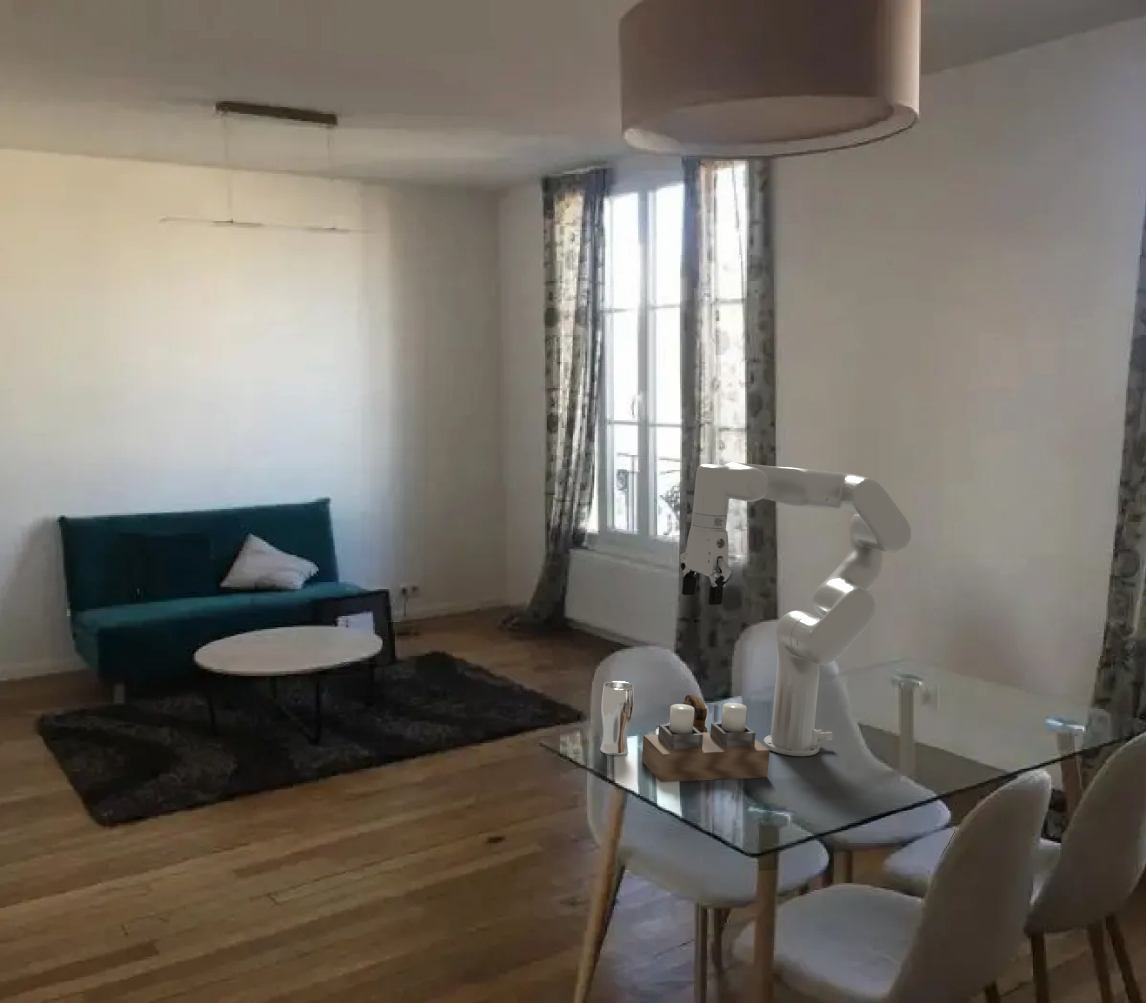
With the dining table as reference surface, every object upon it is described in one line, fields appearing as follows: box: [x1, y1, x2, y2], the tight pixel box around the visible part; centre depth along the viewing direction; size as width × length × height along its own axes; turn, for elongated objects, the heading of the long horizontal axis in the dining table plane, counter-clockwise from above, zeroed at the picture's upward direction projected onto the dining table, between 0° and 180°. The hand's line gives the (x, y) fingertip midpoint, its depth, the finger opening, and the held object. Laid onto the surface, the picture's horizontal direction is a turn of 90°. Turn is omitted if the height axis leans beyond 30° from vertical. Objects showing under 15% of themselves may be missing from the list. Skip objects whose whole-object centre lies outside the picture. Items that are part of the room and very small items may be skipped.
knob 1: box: [669, 703, 694, 734], centre depth 250 cm, size 5×5×5 cm
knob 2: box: [721, 702, 748, 732], centre depth 254 cm, size 5×5×5 cm
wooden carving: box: [682, 694, 708, 733], centre depth 272 cm, size 16×5×10 cm, turn 18°
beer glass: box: [600, 680, 634, 757], centre depth 260 cm, size 7×7×15 cm
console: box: [641, 722, 771, 783], centre depth 253 cm, size 24×12×9 cm, turn 106°
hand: (701, 599), depth 258 cm, fingers open, 9 cm apart
